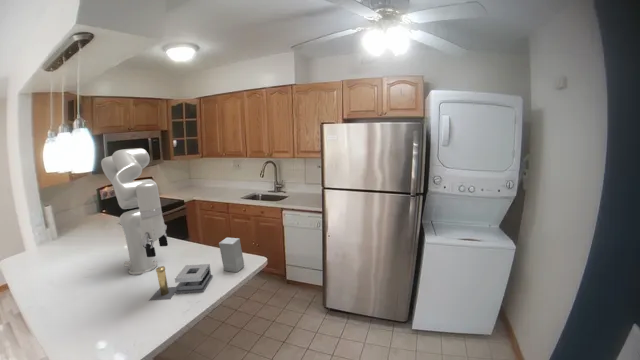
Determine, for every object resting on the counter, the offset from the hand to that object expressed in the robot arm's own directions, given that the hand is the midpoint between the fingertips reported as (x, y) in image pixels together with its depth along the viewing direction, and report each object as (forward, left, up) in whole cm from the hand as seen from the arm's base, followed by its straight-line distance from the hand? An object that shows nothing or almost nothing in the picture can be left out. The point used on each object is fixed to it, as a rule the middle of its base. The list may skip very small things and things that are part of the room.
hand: (157, 251), depth 113 cm
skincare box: (+25, +18, -21) cm, 37 cm away
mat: (0, 0, -20) cm, 20 cm away
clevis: (+11, +5, -20) cm, 24 cm away
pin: (0, 0, -20) cm, 20 cm away
